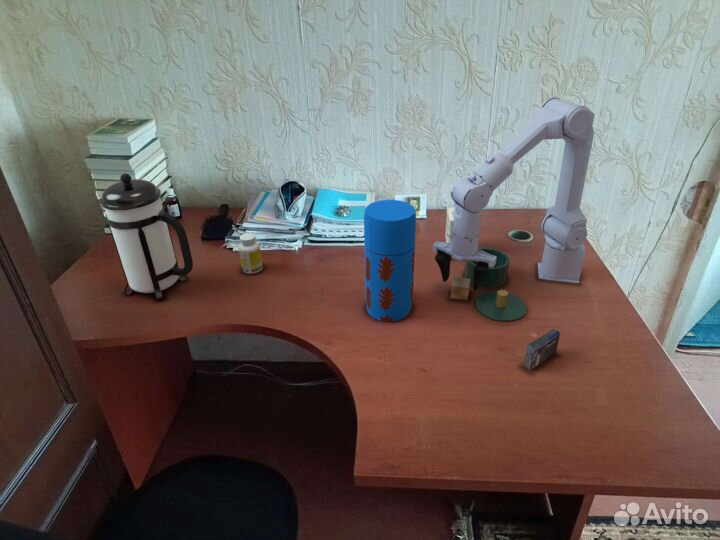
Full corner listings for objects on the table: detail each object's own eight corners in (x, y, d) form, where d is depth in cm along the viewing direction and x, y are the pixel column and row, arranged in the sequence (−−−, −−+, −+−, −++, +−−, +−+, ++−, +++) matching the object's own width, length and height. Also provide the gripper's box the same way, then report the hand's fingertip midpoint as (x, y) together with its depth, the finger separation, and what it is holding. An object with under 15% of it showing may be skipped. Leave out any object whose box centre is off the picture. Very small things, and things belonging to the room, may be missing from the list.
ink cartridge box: (443, 244, 141) (447, 196, 133) (461, 244, 141) (465, 196, 133) (447, 259, 134) (450, 209, 126) (465, 259, 133) (470, 209, 126)
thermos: (409, 324, 110) (412, 223, 97) (361, 319, 112) (359, 219, 99) (414, 297, 119) (418, 200, 106) (370, 292, 121) (369, 197, 108)
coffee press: (125, 311, 116) (85, 192, 101) (125, 278, 129) (89, 168, 113) (200, 294, 122) (173, 179, 106) (193, 264, 134) (168, 157, 119)
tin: (506, 270, 128) (509, 250, 125) (505, 292, 120) (509, 271, 117) (465, 265, 131) (467, 245, 128) (462, 286, 122) (464, 266, 119)
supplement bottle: (265, 264, 134) (260, 231, 129) (259, 274, 129) (254, 241, 124) (245, 263, 134) (240, 231, 129) (239, 274, 130) (233, 241, 125)
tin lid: (525, 298, 117) (528, 282, 115) (526, 327, 108) (529, 310, 106) (476, 292, 120) (478, 276, 118) (473, 320, 111) (475, 303, 108)
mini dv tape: (529, 372, 96) (534, 348, 93) (523, 368, 97) (527, 344, 94) (555, 355, 100) (560, 331, 97) (548, 351, 101) (554, 328, 98)
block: (468, 292, 120) (470, 278, 118) (467, 302, 117) (468, 287, 115) (452, 290, 121) (453, 276, 119) (450, 299, 118) (451, 285, 115)
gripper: (428, 232, 110) (425, 283, 117) (491, 248, 104) (484, 301, 111) (441, 220, 115) (438, 270, 122) (502, 234, 109) (495, 286, 116)
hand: (460, 284), depth 117 cm, fingers open, 7 cm apart
